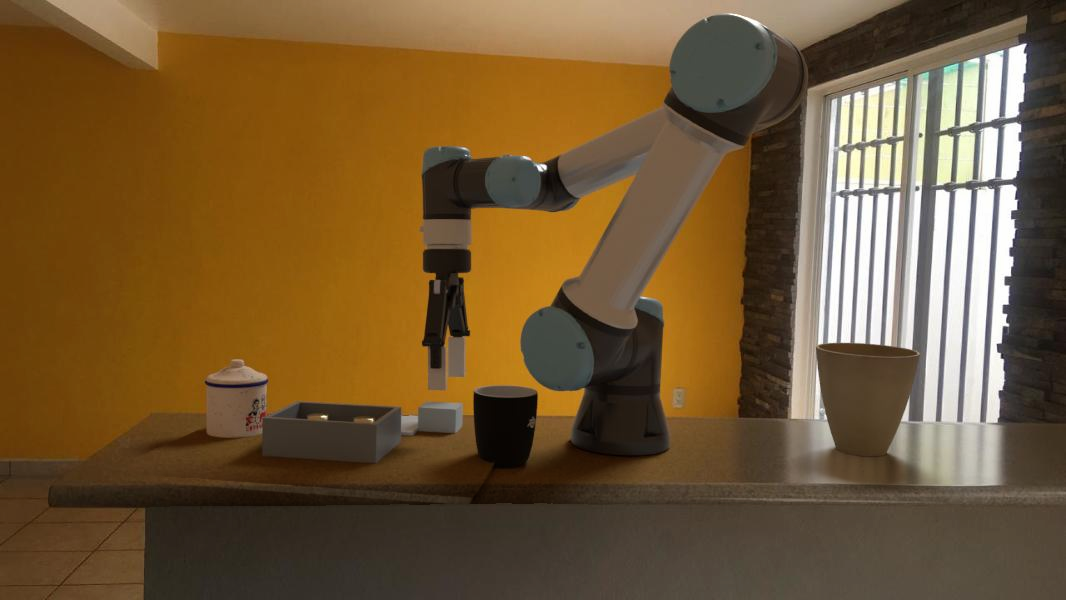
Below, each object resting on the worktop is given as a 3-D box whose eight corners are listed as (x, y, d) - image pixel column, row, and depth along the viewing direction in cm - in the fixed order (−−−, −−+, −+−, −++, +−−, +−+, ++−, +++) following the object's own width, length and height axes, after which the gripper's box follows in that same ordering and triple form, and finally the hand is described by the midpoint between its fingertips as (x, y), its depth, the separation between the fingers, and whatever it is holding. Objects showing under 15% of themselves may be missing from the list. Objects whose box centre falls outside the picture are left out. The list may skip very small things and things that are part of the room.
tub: (400, 447, 128) (401, 407, 127) (375, 468, 116) (376, 424, 116) (297, 440, 130) (297, 401, 129) (262, 461, 118) (262, 417, 118)
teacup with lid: (257, 444, 127) (257, 365, 126) (195, 442, 127) (195, 363, 126) (281, 425, 139) (281, 353, 138) (224, 424, 139) (224, 352, 138)
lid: (466, 428, 143) (467, 399, 142) (450, 445, 131) (451, 413, 131) (334, 420, 146) (334, 392, 145) (307, 436, 134) (308, 405, 134)
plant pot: (795, 438, 141) (800, 341, 140) (882, 439, 142) (889, 343, 141) (835, 463, 126) (841, 355, 125) (932, 464, 127) (940, 356, 126)
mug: (535, 472, 117) (537, 398, 116) (468, 469, 117) (470, 395, 116) (536, 449, 129) (538, 382, 128) (476, 447, 129) (478, 380, 128)
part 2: (377, 443, 126) (377, 416, 126) (370, 448, 123) (371, 421, 123) (357, 442, 127) (357, 415, 126) (350, 447, 124) (350, 419, 123)
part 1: (330, 440, 127) (331, 413, 127) (323, 445, 124) (323, 418, 124) (311, 439, 127) (311, 412, 127) (303, 444, 124) (303, 417, 124)
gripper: (442, 247, 148) (442, 371, 149) (401, 247, 123) (402, 395, 124) (485, 247, 147) (485, 372, 148) (453, 247, 122) (453, 396, 123)
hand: (447, 383), depth 136 cm, fingers open, 13 cm apart
